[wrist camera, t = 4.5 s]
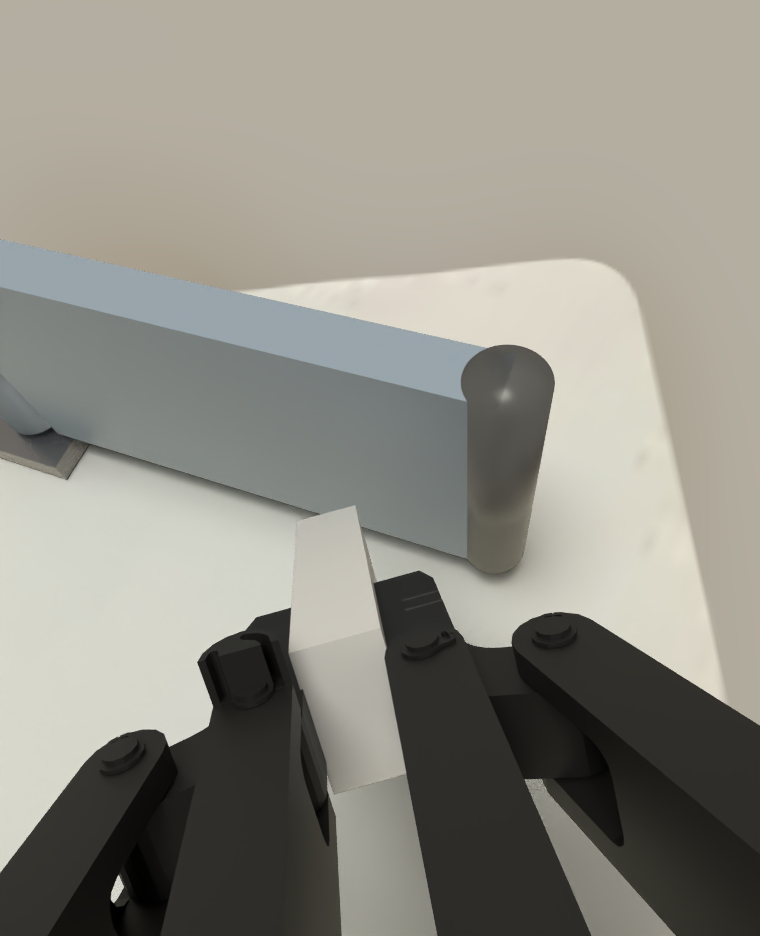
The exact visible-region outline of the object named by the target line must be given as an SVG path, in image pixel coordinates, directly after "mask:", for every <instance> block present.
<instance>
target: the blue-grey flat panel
mask: <svg viewBox="0 0 760 936" xmlns="http://www.w3.org/2000/svg"><path fill="white" fill-rule="evenodd" d="M554 385H555V381H554V375H553V372H552V369H551V367H550V366H549V364H548V363H547V362H546V361H545V359H544V358H542V357H541V356H540V355H539V354H537V353H536V352H534V351H532V350H530V349H527V348H525V347H521V346H516V345H498V346H493V347H490V348H484V347H480V346H475V345H471V344H466V343H462V342H457V341H453V340H449V339H444V338H440V337H435V336H431V335H426V334H422V333H417V332H413V331H408V330H404V329H399V328H395V327H390V326H386V325H381V324H377V323H373V322H368V321H364V320H359V319H355V318H350V317H346V316H341V315H337V314H332V313H328V312H323V311H319V310H314V309H310V308H306V307H301V306H297V305H292V304H288V303H283V302H279V301H274V300H270V299H265V298H261V297H256V296H252V295H247V294H243V293H238V292H234V291H229V290H225V289H220V288H216V287H212V286H207V285H203V284H198V283H194V282H189V281H185V280H180V279H176V278H171V277H167V276H163V275H158V274H154V273H149V272H145V271H140V270H136V269H131V268H127V267H122V266H118V265H113V264H109V263H104V262H100V261H95V260H91V259H87V258H82V257H78V256H73V255H69V254H64V253H59V252H55V251H51V250H46V249H42V248H37V247H33V246H28V245H24V244H19V243H15V242H10V241H6V240H2V239H0V418H1V419H3V420H4V421H5V422H6V423H7V424H8V425H9V426H10V427H11V428H12V429H13V430H14V431H16V432H17V433H20V434H24V435H32V434H38V433H41V432H43V431H46V430H48V429H49V428H51V427H52V428H53V429H54V430H55V431H56V432H57V433H58V434H60V435H64V436H67V437H70V438H73V439H77V440H80V441H83V442H87V443H90V444H93V445H96V446H100V447H103V448H106V449H109V450H113V451H116V452H119V453H122V454H126V455H129V456H132V457H136V458H139V459H142V460H145V461H149V462H152V463H155V464H158V465H162V466H165V467H168V468H171V469H175V470H178V471H181V472H185V473H188V474H191V475H194V476H198V477H201V478H204V479H207V480H211V481H214V482H217V483H221V484H224V485H227V486H230V487H234V488H237V489H240V490H243V491H247V492H250V493H253V494H256V495H260V496H263V497H266V498H270V499H273V500H276V501H279V502H283V503H286V504H289V505H292V506H296V507H299V508H302V509H305V510H309V511H312V512H315V513H319V514H324V513H328V512H332V511H335V510H339V509H343V508H346V507H350V506H354V505H355V506H356V509H357V513H358V516H359V520H360V524H361V527H364V528H368V529H371V530H374V531H377V532H381V533H384V534H387V535H390V536H394V537H397V538H400V539H404V540H407V541H410V542H413V543H417V544H420V545H423V546H426V547H430V548H433V549H436V550H439V551H443V552H446V553H449V554H453V555H456V556H459V557H462V558H466V559H467V560H468V561H469V562H470V563H471V564H472V565H473V566H474V567H475V568H477V569H479V570H481V571H483V572H487V573H502V572H506V571H508V570H510V569H512V568H513V567H514V566H516V565H517V564H518V562H519V561H520V560H521V558H522V556H523V553H524V548H525V543H526V538H527V532H528V527H529V521H530V516H531V511H532V505H533V500H534V494H535V489H536V484H537V478H538V473H539V467H540V462H541V457H542V451H543V446H544V441H545V435H546V430H547V424H548V419H549V414H550V408H551V403H552V397H553V392H554Z"/></svg>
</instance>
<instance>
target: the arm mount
mask: <svg viewBox="0 0 760 936" xmlns="http://www.w3.org/2000/svg"><path fill="white" fill-rule="evenodd" d="M89 444H90V443H87V442H83V441H80V440H77V439H73V438H70V437H67V436H64V435H60V434H58V433H57V432H56V431H55V430H54V429H53V428H52V427H51V428H49V429H48V430H46V431H43V432H41V433H38V434H32V435H24V434H20V433H17V432H16V431H14V430H13V429H12V428H11V427H10V426H9V425H8V424H7V423H6V422H5V421H4V420H3V419H1V418H0V458H2V459H6V460H9V461H12V462H15V463H18V464H21V465H24V466H27V467H30V468H33V469H36V470H39V471H42V472H46V473H49V474H52V475H55V476H58V477H61V478H64V479H67V478H68V476H69V475H70V473H71V472H72V470H73V468H74V467H75V465H76V464H77V462H78V461H79V459H80V458H81V456H82V454H83V453H84V451H85V450H86V448H87V447H88V445H89Z"/></svg>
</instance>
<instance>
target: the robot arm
mask: <svg viewBox="0 0 760 936" xmlns="http://www.w3.org/2000/svg"><path fill="white" fill-rule="evenodd" d="M197 663H198V666H199V668H200V671H201V674H202V677H203V679H204V682H205V685H206V688H207V690H208V693H209V696H210V699H211V701H212V704H213V710H212V715H211V719H210V723H209V726H208V727H207V728H205V729H204V730H202V731H200V732H199V733H197V734H195V735H193V736H191V737H189V738H187V739H185V740H183V741H181V742H179V743H177V744H174V745H172V746H170V747H169V746H168V743H167V741H166V738H165V735H164V734H163V733H161V732H159V731H157V730H139V731H135V732H131V733H130V732H129V733H126V734H123V735H120V737H116V738H114V739H112V740H111V741H109V742H108V743H107V744H106V745H105V746H103V747H102V748H100V749H99V750H97V751H96V752H95V753H94V754H93V755H92V756H91V757H90V758H89V759H88V760H87V761H86V762H85V763H84V764H83V766H82V767H81V768H80V770H79V771H78V772H77V774H76V775H75V776H74V777H73V779H72V780H71V781H70V783H69V784H68V785H67V787H66V788H65V789H64V790H63V792H62V793H61V794H60V796H59V797H58V798H57V800H56V801H55V802H54V804H53V805H52V806H51V807H50V809H49V810H48V811H47V813H46V814H45V815H44V817H43V818H42V819H41V821H40V822H39V823H38V824H37V826H36V827H35V828H34V830H33V831H32V832H31V834H30V835H29V836H28V837H27V839H26V840H25V841H24V843H23V844H22V845H21V847H20V848H19V849H18V851H17V852H16V853H15V854H14V856H13V857H12V858H11V860H10V861H9V862H8V864H7V865H6V866H5V868H4V869H3V870H2V871H1V873H0V936H341V916H340V896H339V876H338V856H337V836H336V816H335V813H334V810H333V807H332V804H331V801H330V797H329V794H328V791H327V774H328V778H329V781H330V784H331V787H332V790H333V793H334V794H338V793H341V792H345V791H348V790H352V789H355V788H359V787H362V786H366V785H369V784H373V783H376V782H380V781H383V780H387V779H390V778H394V777H398V776H401V775H405V774H407V779H408V784H409V789H410V795H411V800H412V805H413V810H414V815H415V821H416V826H417V831H418V836H419V841H420V847H421V852H422V857H423V862H424V867H425V873H426V878H427V883H428V888H429V893H430V899H431V904H432V909H433V914H434V919H435V925H436V930H437V935H438V936H591V934H590V932H589V929H588V927H587V925H586V922H585V920H584V918H583V915H582V913H581V911H580V908H579V906H578V904H577V901H576V899H575V897H574V894H573V892H572V890H571V887H570V885H569V883H568V880H567V878H566V876H565V873H564V871H563V869H562V866H561V864H560V862H559V860H558V857H557V855H556V853H555V850H554V848H553V846H552V843H551V841H550V839H549V836H548V834H547V832H546V829H545V827H544V825H543V822H542V820H541V818H540V815H539V813H538V811H537V808H536V806H535V804H534V801H533V799H532V797H531V794H530V792H529V790H528V787H527V785H526V783H525V780H524V779H542V780H543V783H544V785H545V787H546V789H547V791H548V793H549V794H550V795H551V796H552V797H553V799H554V800H555V801H556V802H557V803H558V804H559V805H560V806H561V808H562V809H563V810H564V811H565V812H566V813H567V814H568V815H569V816H570V818H571V819H572V820H573V821H574V822H575V823H576V824H577V825H578V827H579V828H580V829H581V830H582V831H583V832H584V833H585V834H586V835H587V837H588V838H589V839H590V840H591V841H592V842H593V843H594V844H595V846H596V847H597V848H598V849H599V850H600V851H601V852H602V853H603V855H604V856H605V857H606V858H607V859H608V860H609V861H610V862H611V863H612V865H613V866H614V867H615V868H616V869H617V870H618V871H619V872H620V874H621V875H622V876H623V877H624V878H625V879H626V880H627V881H628V882H629V884H630V885H631V886H632V887H633V888H634V889H635V890H636V891H637V893H638V894H639V895H640V896H641V897H642V898H643V899H644V900H645V902H646V903H647V904H648V905H649V906H650V907H651V908H652V909H653V910H654V912H655V913H656V914H657V915H658V916H659V917H660V918H661V919H662V921H663V922H664V923H665V924H666V925H667V926H668V927H669V928H670V929H671V931H672V932H673V933H674V934H675V935H676V936H760V726H759V725H758V724H756V723H755V722H753V721H751V720H750V719H748V718H747V717H745V716H744V715H742V714H740V713H739V712H737V711H736V710H734V709H732V708H731V707H729V706H728V705H726V704H725V703H723V702H721V701H720V700H718V699H717V698H715V697H713V696H712V695H710V694H709V693H707V692H705V691H704V690H702V689H701V688H699V687H698V686H696V685H694V684H693V683H691V682H690V681H688V680H686V679H685V678H683V677H682V676H680V675H678V674H677V673H675V672H674V671H672V670H671V669H669V668H667V667H666V666H664V665H663V664H661V663H659V662H658V661H656V660H655V659H653V658H651V657H650V656H648V655H647V654H645V653H644V652H642V651H640V650H639V649H637V648H636V647H634V646H632V645H631V644H629V643H628V642H626V641H624V640H623V639H621V638H620V637H618V636H617V635H615V634H613V633H612V632H610V631H609V630H607V629H605V628H604V627H602V626H601V625H599V624H597V623H596V622H594V621H593V620H591V619H589V618H587V617H584V616H581V615H579V614H572V613H563V612H555V613H553V614H552V613H548V614H543V615H542V616H539V617H536V618H532V619H530V620H529V621H527V622H525V623H523V624H522V625H520V626H519V627H518V628H517V630H516V631H515V632H514V633H513V636H512V647H502V648H484V647H476V646H473V645H470V644H467V643H466V642H465V641H464V638H463V636H462V635H461V634H460V633H459V632H458V631H457V630H455V629H454V627H453V624H452V622H451V619H450V617H449V615H448V612H447V610H446V608H445V605H444V603H443V600H442V598H441V596H440V593H439V591H438V589H437V586H436V584H435V582H434V579H433V578H432V577H430V576H429V575H427V574H425V573H423V572H421V571H416V572H413V573H409V574H405V575H402V576H398V577H394V578H391V579H387V580H384V581H380V582H376V578H375V574H374V571H373V567H372V563H371V560H370V556H369V553H368V549H367V545H366V542H365V538H364V534H363V531H362V527H361V524H360V520H359V516H358V513H357V509H356V506H355V505H354V506H350V507H346V508H343V509H339V510H335V511H332V512H328V513H324V514H321V515H317V516H313V517H310V518H306V519H302V520H299V521H297V525H296V541H295V557H294V573H293V588H292V604H291V608H289V609H285V610H282V611H278V612H274V613H271V614H267V615H263V616H260V617H256V618H255V620H254V621H253V622H252V623H251V624H250V626H249V627H248V628H247V629H246V630H245V631H242V632H239V633H237V634H234V635H231V636H228V637H226V638H224V639H222V640H221V641H219V642H217V643H215V644H214V645H212V646H211V647H210V648H209V649H207V650H206V651H205V652H204V653H203V654H202V656H201V657H200V659H199V660H198V662H197ZM118 875H119V876H120V878H121V881H122V883H123V885H124V888H123V890H122V892H121V894H120V896H119V897H118V899H117V900H116V901H115V903H113V902H112V901H111V892H112V889H113V886H114V884H115V881H116V878H117V876H118Z"/></svg>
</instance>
